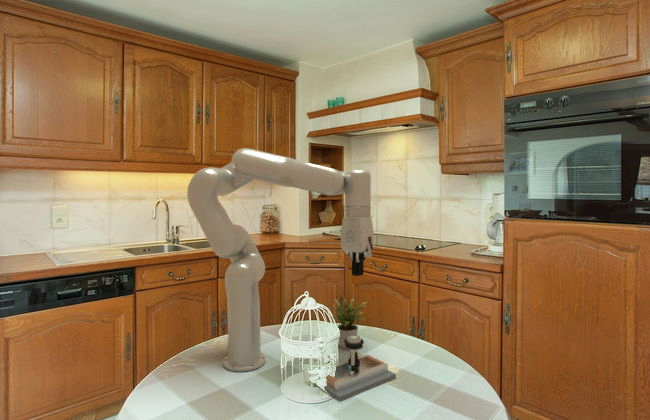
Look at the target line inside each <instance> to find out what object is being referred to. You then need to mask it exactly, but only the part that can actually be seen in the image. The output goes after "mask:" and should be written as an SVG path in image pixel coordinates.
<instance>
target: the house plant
mask: <svg viewBox="0 0 650 420" xmlns="http://www.w3.org/2000/svg"><path fill="white" fill-rule="evenodd" d="M343 300H344V304H341V303H340V302H339V301H338V299H335V298H334V301H335V303H336V305H337V307H336V306H334V305H333V304H331V306H332V308H333V309H334V310H335V311H336V312H337V314H335V316H334V315H332V316H333V318H332V319H334V320H335V319H336V320H338V321H339V322H340V324H338V325H337V326H338V328H339V330H340V337H339V338H338V344H339V347H340V348H342V349H348V348H346V346H345V343H344V340H345V339H346V338H348V336H350V335H357V336H358V330H359V326H357V325H356V323H357V322H355V321H357V320H359V321H364V322H366V321H365V320H366V319H365V318H363V317H362V315H361V314H364V311H361V310H360V309H361V308H364V307H365V304H367V303H368V301H365V302H362V303H361V304H359V305H358V306H357V307H355V308H354V306H355V298H354V296H352V297H351V300H350V303H349V305H348V303H347V300H346V297H343ZM342 305H343V306H344V309H343V306H342ZM357 312H359V313H357ZM361 317H362V318H361ZM348 350H349V349H348Z"/></svg>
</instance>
